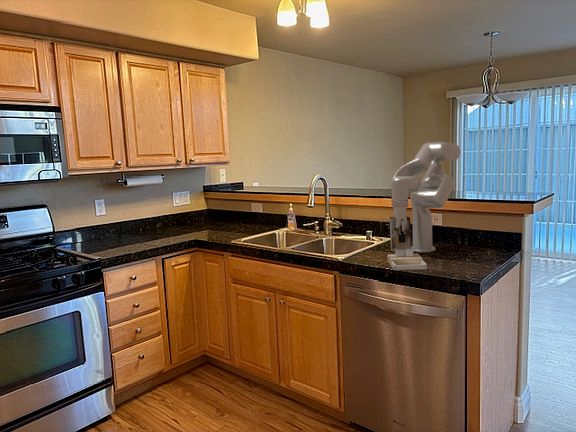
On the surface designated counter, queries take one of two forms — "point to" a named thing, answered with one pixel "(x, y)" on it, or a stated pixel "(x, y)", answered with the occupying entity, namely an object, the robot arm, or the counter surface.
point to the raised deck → (405, 259)
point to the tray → (409, 266)
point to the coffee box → (395, 232)
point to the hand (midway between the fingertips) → (400, 240)
